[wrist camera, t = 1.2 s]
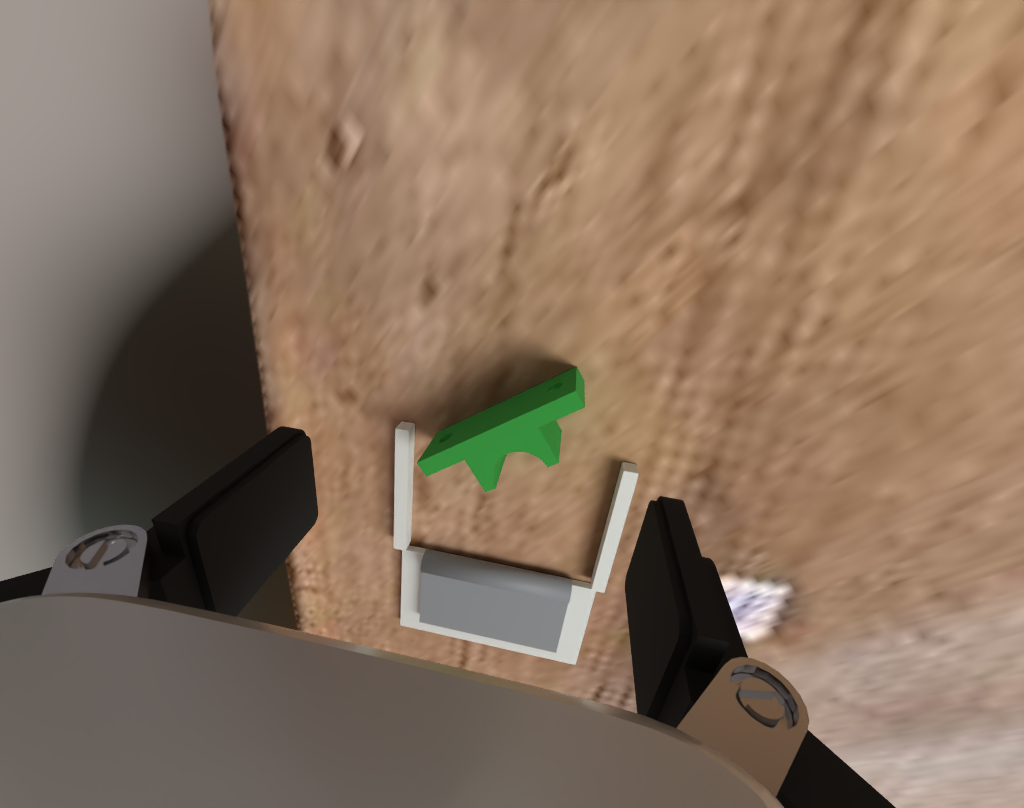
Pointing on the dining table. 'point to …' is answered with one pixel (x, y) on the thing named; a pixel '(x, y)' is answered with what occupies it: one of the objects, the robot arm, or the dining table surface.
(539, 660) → the dining table surface
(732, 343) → the dining table surface
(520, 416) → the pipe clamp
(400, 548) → the hinge base
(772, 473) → the dining table surface
